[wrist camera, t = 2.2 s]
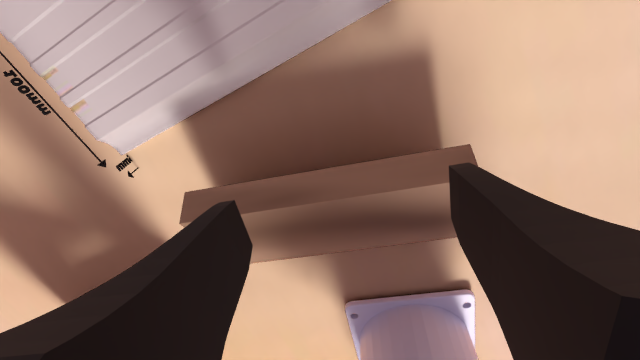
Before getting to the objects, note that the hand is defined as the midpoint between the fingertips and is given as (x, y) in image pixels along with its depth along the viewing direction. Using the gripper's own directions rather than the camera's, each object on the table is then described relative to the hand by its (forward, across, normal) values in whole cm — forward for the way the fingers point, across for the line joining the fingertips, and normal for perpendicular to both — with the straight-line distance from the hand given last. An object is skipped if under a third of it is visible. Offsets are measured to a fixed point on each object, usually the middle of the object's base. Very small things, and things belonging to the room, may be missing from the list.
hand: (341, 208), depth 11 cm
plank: (+4, +1, +2) cm, 5 cm away
